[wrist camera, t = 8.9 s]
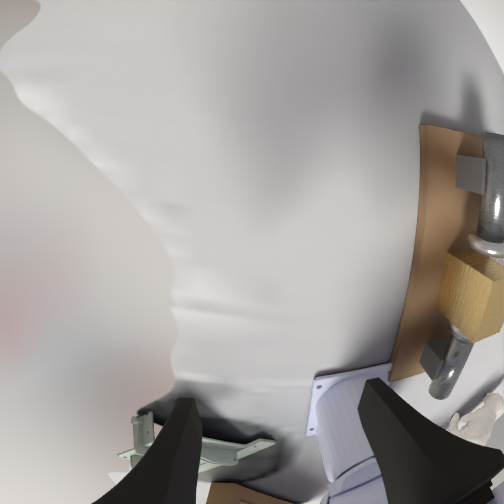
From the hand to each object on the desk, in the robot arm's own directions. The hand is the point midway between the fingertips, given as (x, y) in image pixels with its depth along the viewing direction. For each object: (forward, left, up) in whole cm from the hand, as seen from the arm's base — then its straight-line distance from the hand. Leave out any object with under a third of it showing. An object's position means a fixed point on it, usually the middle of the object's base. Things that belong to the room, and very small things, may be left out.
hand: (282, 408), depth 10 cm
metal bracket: (-18, +9, -10) cm, 23 cm away
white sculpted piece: (-26, -33, -10) cm, 43 cm away
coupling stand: (+1, -16, -9) cm, 19 cm away
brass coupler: (0, -16, -8) cm, 18 cm away
